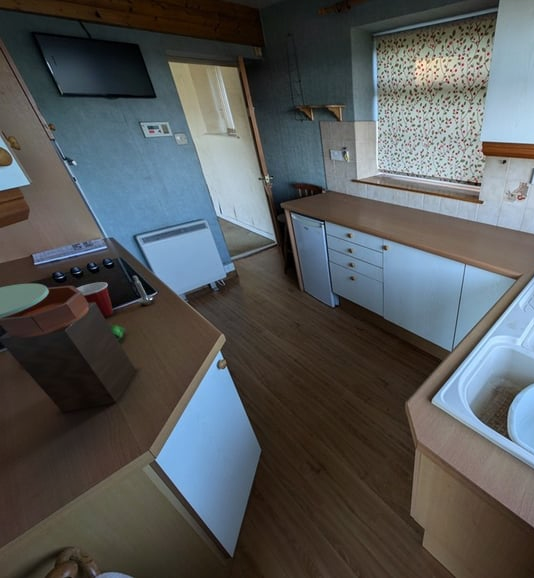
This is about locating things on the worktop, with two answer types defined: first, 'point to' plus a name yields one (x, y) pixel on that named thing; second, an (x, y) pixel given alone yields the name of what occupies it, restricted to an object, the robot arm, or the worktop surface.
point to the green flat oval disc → (20, 297)
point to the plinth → (68, 350)
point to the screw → (142, 292)
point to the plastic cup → (98, 296)
